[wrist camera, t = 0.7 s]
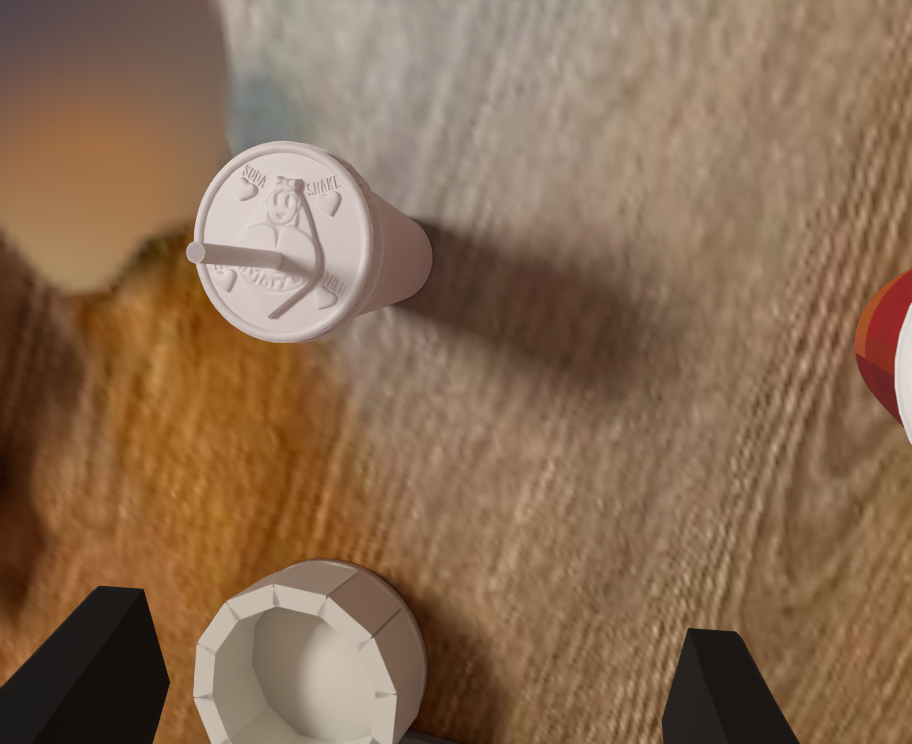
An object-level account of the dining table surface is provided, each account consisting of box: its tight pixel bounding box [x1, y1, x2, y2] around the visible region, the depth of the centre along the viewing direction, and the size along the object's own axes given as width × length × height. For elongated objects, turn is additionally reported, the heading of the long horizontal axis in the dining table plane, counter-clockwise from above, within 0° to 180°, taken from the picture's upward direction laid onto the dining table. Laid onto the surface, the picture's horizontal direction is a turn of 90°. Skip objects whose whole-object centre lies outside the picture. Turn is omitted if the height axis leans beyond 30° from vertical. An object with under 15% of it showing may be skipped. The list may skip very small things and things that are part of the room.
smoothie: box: [187, 141, 433, 343], centre depth 29 cm, size 6×6×14 cm
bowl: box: [193, 558, 428, 744], centre depth 36 cm, size 9×9×4 cm
